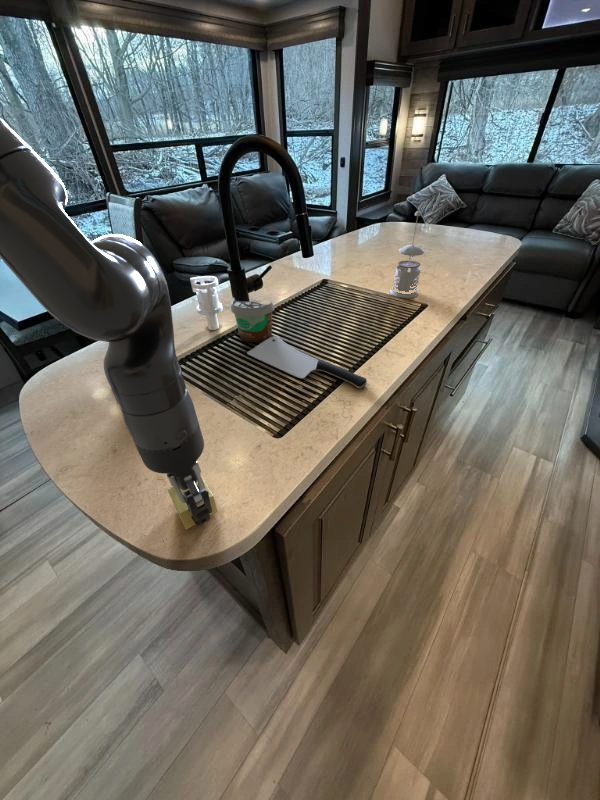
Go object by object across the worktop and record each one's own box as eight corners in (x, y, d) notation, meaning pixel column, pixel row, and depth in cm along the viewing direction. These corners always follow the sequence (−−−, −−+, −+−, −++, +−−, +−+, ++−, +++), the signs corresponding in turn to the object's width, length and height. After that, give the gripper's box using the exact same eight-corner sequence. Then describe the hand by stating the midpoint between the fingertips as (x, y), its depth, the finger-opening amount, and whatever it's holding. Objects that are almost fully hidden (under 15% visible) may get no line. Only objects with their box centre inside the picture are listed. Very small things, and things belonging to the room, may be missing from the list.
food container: (226, 340, 91) (220, 305, 85) (237, 330, 96) (232, 296, 89) (267, 347, 88) (264, 311, 82) (276, 336, 92) (274, 302, 86)
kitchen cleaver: (245, 350, 85) (272, 332, 90) (247, 356, 86) (273, 337, 91) (345, 400, 69) (371, 374, 74) (345, 405, 70) (371, 380, 75)
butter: (218, 511, 50) (213, 495, 47) (185, 529, 47) (179, 514, 45) (205, 488, 53) (199, 473, 50) (174, 505, 51) (167, 489, 48)
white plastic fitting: (198, 325, 99) (187, 274, 89) (221, 320, 101) (212, 270, 92) (205, 335, 94) (193, 282, 84) (228, 329, 96) (220, 277, 87)
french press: (387, 295, 113) (399, 213, 98) (393, 284, 122) (405, 206, 106) (416, 299, 110) (434, 214, 95) (421, 287, 119) (437, 207, 103)
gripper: (117, 405, 42) (156, 487, 53) (149, 480, 33) (188, 560, 44) (175, 384, 45) (200, 465, 56) (219, 447, 36) (239, 529, 47)
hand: (195, 506), depth 50 cm, fingers closed on butter, 5 cm apart
